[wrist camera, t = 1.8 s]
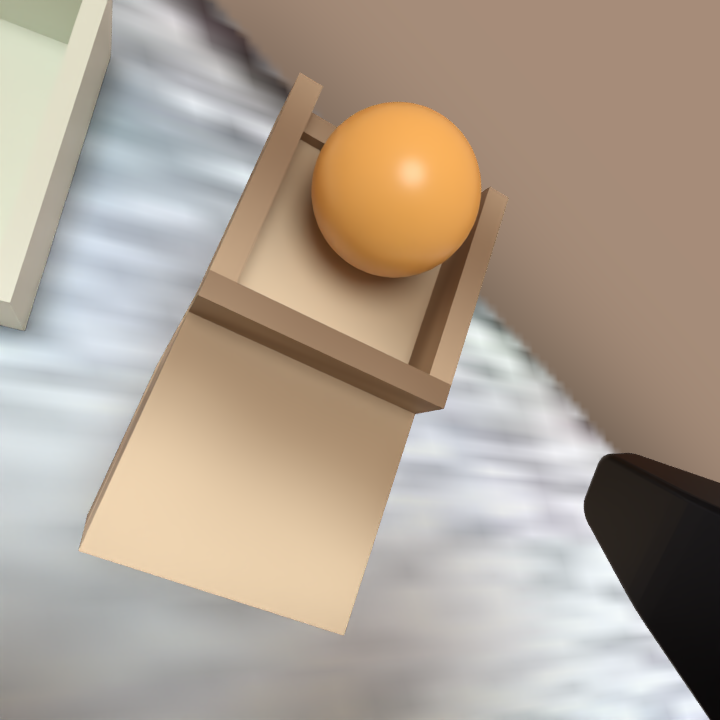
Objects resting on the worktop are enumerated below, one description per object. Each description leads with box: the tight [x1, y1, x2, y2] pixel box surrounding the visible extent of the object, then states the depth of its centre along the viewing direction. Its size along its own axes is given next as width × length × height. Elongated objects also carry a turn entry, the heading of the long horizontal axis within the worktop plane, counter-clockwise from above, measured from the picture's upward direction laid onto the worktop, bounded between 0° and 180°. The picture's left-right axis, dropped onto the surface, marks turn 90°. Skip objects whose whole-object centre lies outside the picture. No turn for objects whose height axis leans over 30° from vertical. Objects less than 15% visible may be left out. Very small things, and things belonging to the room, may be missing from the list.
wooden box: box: [79, 73, 508, 636], centre depth 16 cm, size 9×5×11 cm, turn 159°
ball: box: [311, 102, 481, 278], centre depth 12 cm, size 3×3×3 cm
